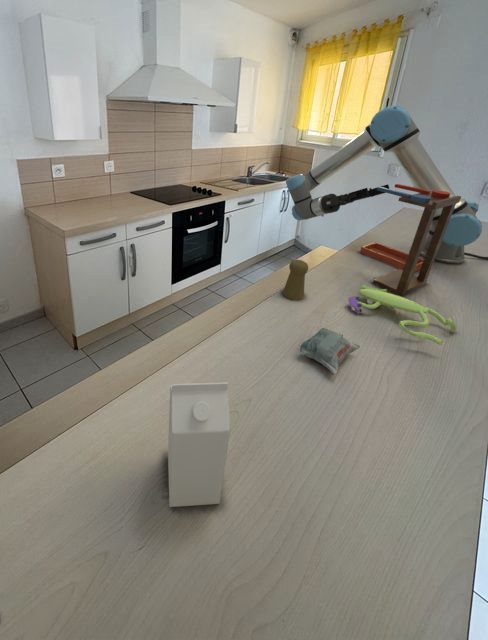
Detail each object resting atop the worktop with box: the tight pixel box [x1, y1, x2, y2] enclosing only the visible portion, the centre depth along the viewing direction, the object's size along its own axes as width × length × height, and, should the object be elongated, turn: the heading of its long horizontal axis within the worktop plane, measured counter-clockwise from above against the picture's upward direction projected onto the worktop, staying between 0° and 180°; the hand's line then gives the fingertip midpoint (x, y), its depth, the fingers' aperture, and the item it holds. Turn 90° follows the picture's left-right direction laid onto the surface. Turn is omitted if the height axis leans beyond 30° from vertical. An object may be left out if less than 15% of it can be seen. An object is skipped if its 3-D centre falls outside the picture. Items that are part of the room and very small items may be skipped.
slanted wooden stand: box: [372, 193, 462, 297], centre depth 100 cm, size 10×16×30 cm, turn 123°
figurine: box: [347, 284, 457, 346], centre depth 87 cm, size 18×27×6 cm
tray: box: [359, 242, 424, 273], centre depth 123 cm, size 19×10×3 cm, turn 33°
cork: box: [282, 259, 309, 301], centre depth 95 cm, size 6×6×11 cm
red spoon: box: [394, 183, 450, 199], centre depth 101 cm, size 15×4×1 cm, turn 33°
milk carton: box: [167, 382, 231, 508], centre depth 44 cm, size 7×7×19 cm
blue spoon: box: [376, 186, 431, 203], centre depth 95 cm, size 15×4×1 cm, turn 25°
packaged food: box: [299, 327, 361, 376], centre depth 72 cm, size 9×12×5 cm
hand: (378, 189), depth 112 cm, fingers open, 13 cm apart
